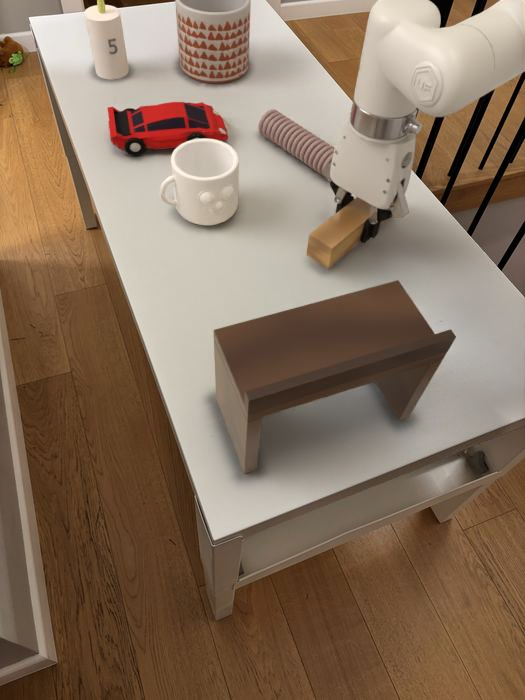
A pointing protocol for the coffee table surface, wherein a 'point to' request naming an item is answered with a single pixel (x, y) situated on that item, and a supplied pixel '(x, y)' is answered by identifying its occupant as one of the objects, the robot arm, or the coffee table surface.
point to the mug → (204, 181)
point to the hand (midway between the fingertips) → (354, 229)
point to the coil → (296, 140)
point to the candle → (106, 41)
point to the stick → (339, 233)
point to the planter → (213, 38)
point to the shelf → (323, 359)
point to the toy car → (164, 126)
